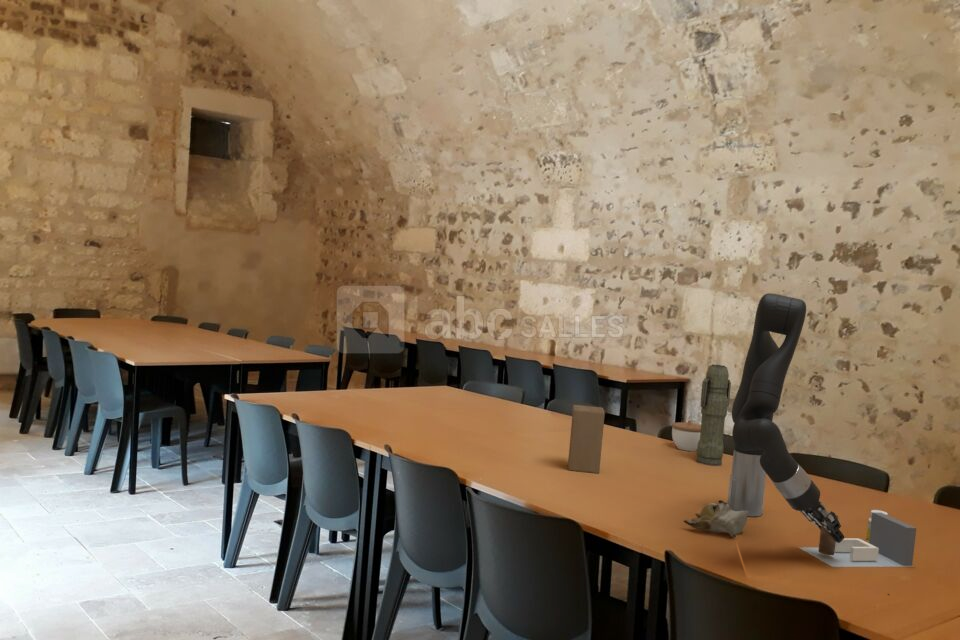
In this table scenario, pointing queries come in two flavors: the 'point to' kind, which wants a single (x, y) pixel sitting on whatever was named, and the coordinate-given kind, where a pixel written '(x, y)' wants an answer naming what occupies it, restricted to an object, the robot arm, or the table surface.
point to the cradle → (857, 549)
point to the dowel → (826, 542)
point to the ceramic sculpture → (719, 519)
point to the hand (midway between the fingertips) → (835, 536)
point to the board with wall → (878, 545)
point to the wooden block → (586, 439)
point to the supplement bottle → (870, 521)
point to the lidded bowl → (686, 435)
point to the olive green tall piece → (713, 415)
